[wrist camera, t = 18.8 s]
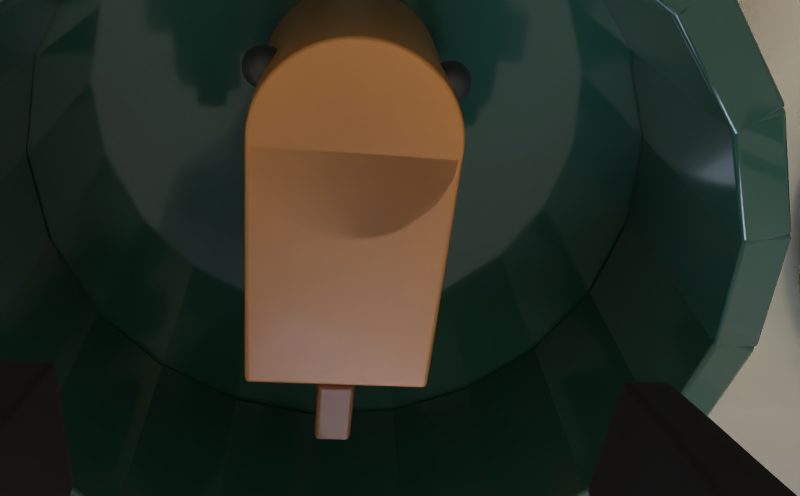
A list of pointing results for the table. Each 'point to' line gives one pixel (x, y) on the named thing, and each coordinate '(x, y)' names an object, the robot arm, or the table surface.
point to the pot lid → (799, 281)
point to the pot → (466, 261)
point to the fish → (348, 200)
